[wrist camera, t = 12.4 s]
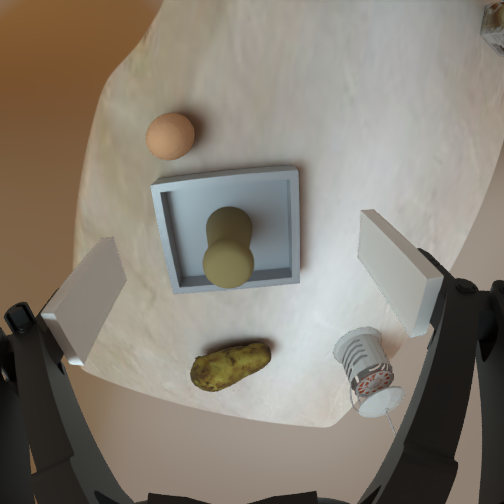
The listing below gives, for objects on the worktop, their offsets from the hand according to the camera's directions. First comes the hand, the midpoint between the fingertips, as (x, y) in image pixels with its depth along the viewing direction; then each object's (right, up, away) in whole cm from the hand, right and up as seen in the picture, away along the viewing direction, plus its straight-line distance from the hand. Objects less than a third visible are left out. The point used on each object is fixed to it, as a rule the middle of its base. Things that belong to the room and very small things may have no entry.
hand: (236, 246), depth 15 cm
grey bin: (-2, +3, +24) cm, 24 cm away
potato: (-3, -17, +34) cm, 38 cm away
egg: (-8, +14, +18) cm, 24 cm away
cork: (-2, +3, +23) cm, 23 cm away
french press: (+20, -19, +36) cm, 45 cm away
